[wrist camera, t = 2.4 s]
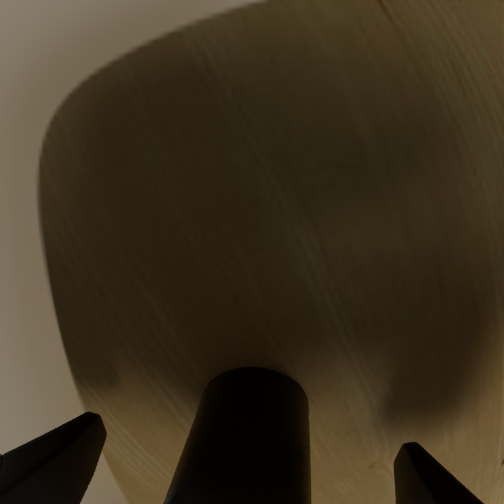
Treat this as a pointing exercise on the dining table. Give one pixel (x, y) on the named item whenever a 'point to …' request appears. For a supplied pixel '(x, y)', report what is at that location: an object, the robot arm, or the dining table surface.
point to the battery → (246, 443)
